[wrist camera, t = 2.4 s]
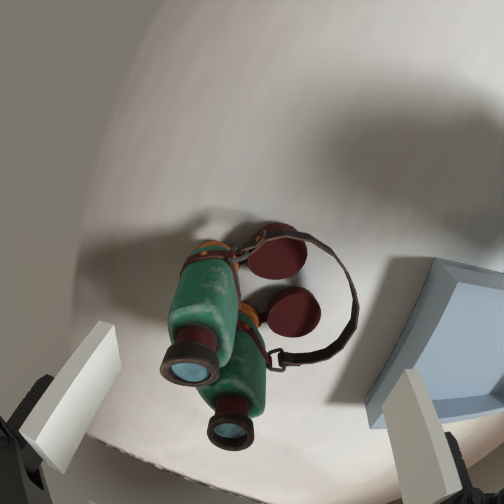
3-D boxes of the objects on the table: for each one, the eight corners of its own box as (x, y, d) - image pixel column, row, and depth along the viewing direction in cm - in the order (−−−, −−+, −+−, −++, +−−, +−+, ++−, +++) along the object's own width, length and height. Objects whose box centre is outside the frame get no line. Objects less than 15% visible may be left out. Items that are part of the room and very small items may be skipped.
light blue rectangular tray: (434, 257, 18) (457, 281, 14) (559, 287, 17) (576, 304, 14) (364, 400, 24) (369, 429, 21) (496, 391, 23) (506, 410, 20)
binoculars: (396, 425, 11) (200, 464, 12) (345, 310, 21) (217, 343, 22) (402, 264, 8) (100, 340, 9) (322, 192, 18) (170, 236, 19)
